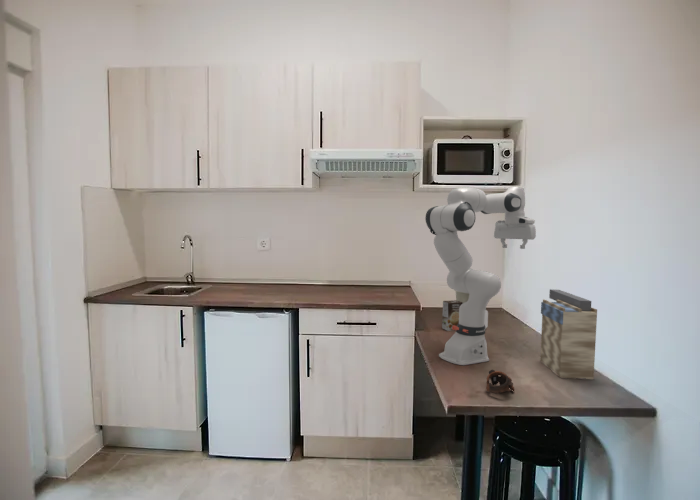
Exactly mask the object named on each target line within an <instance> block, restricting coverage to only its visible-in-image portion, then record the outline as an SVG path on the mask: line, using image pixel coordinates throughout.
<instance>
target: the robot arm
mask: <svg viewBox="0 0 700 500" xmlns="http://www.w3.org/2000/svg"><path fill="white" fill-rule="evenodd" d="M525 194H526V193H525V190H524V188H523V187H520V186H509V187H508V188H507V190H505V191H504V192H500V193H485V191H484V190H482V189H480V188H477V187H476V188H475V187H469V186H467V187H466V186H463V187H458V188H457V187H456V188H453V189H451V190H450V192H449V193H448V195H447V197H446V198H447V199H446V200H447V201H446V202H447V204H445V205H437V206H433V207H431V208H428V210H427V211H426V214H425V218H424V219H425V223H426V226H427V228H428V229H429V232H430V233H431V234H432V235H435V236H434V239H433V244H434V247H435V250H436V252H437V254H438V256H439V257H440V260H442V261H443V263H444V265H445V266H446V268H447V269H448V271H449V272H448V274H447V277H446V283H447V285H448V287H449V288H450V289H452V290H453V291H455V290H456V291H458V292H463V293H468V294H469V299H468V301H467V302H465V303H463V304H462V305H461V306H460V308H459V323H458V325H457V326H455V325H453V326H452V329H453V330H455V332H454V333H453V335H452V336H451V337H450V338H449V339H448V340H447V341H446V343H445V345H444V351H442V352H440V353H438V357H439V358H440V359H442V360H444V361H446V362H448V363H451V364H454V365H460V366H467V365H472V364H478V363H484V362H489V361H490V358H489V356H488V347H487V346H488V345H487V340H486V337H485V334H486V329H487V328H485V325H484V321H485V310H487V306H488V303H489V302H490V300H491V299H492V298H493V297H495V296H497V295H498V294H499V292H500V290H501V288H502V282H501V278H500V277H499V276H498V275H497V274H496V273H493V272H490V271H485V270H480V269H479V270H478V269H473V268H471V267H472V265H473V256H472V255H471V254H470V252H469V250H468V249H467V247H466V245H465V244H464V243H463V241H462V240H461V239H460V238H459V236H458V232H465V231H469V230H471V229H472V228H473V226H474V225H475V222H476V213H479V212H481V214H484V215H489V214H504V220H497V221H496V222H495V227H494V233H493V238H494V239H500V243H501V245H502V248H503V249H507V248H508V244H506V240H508V239H509V240H521V241H522V244H520V245H519V249H521V250H525V249H526V245H527V243H528V241H529V240H535V238H536V237H537V235H536V233H537V232H536V231H537V230H536V226H535V225H534V224H535V222H536V220H535V219H533V218H530V217H527V216H525V206H526V195H525ZM456 291H455V292H456Z"/></svg>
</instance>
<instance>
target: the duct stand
mask: <svg viewBox="0 0 700 500" xmlns="http://www.w3.org/2000/svg"><path fill="white" fill-rule="evenodd" d="M540 305H541V306H540V314H541V338H540V355H539V356H540V358H539V359H540V360H539V361H540V362H541V363H542V364H543V365H544V366H546V367H547V368H548V369H549V370H550V371H552V372H553V373H554V374H556V376H558V378H561V379H576V378H586V379H585V380H594V377H595V360H596V359H595V358H596V357H595V356H596V342H597V341H596V340H597V321H598V309H596V308H594V307H592V306H591V311H582V309H580V308H578V307H575V306H573V305H570V304H568V303H566V302H563V301H561V300H556V301H549V300H547V299H544V298H543V299H542V301H541V303H540Z"/></svg>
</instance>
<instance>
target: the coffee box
mask: <svg viewBox="0 0 700 500" xmlns="http://www.w3.org/2000/svg"><path fill="white" fill-rule="evenodd" d="M462 304H463V302H460V301H457V300H456V299H454V300H443V301H442V320H441V328H442V329H443V330H445V331H447V332H451V331H453V332H454V331H455V332H456V330H453V329H452V326H453V325H455V326H457V325H458V323H459V308H460V306H461V305H462Z"/></svg>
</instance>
